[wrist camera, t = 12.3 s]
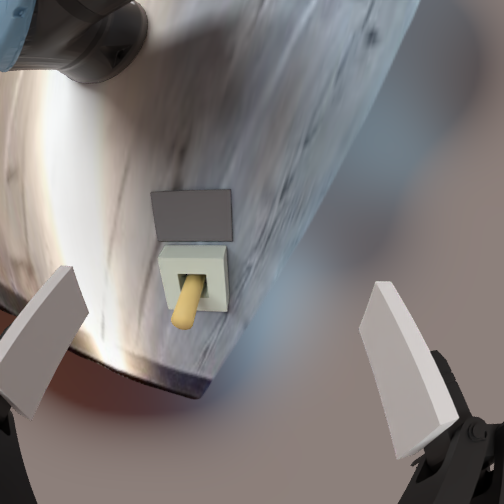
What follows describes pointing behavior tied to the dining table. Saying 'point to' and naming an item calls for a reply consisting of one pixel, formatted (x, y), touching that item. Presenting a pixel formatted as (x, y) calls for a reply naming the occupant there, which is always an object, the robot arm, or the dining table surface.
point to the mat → (193, 215)
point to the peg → (188, 301)
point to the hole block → (196, 262)
